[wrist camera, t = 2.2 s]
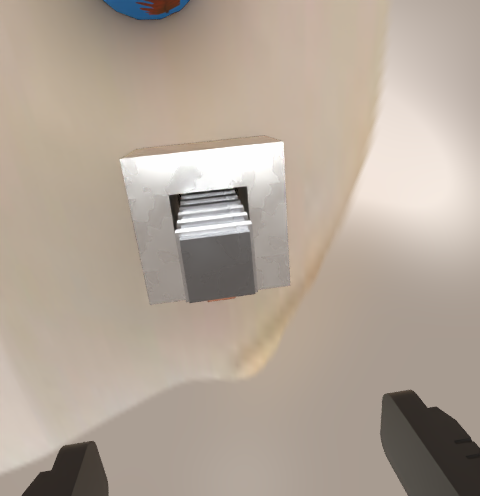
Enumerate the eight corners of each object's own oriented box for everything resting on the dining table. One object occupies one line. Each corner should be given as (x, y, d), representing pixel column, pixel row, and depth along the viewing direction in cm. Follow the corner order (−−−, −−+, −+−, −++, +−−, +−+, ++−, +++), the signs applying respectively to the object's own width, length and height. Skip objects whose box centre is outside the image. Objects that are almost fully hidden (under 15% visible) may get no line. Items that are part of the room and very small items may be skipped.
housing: (272, 257, 39) (290, 291, 31) (159, 272, 38) (151, 311, 30) (264, 135, 34) (283, 141, 27) (136, 149, 33) (119, 159, 26)
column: (233, 223, 37) (259, 296, 22) (189, 228, 37) (186, 307, 22) (229, 179, 35) (253, 227, 20) (183, 184, 35) (174, 237, 20)
